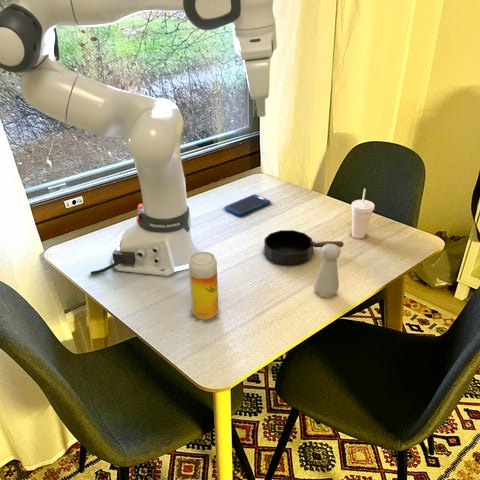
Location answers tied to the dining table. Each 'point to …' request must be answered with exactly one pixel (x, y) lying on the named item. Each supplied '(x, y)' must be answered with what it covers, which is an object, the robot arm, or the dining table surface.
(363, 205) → the smoothie
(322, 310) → the dining table surface
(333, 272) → the salt shaker
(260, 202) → the cell phone
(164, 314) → the dining table surface
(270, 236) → the pan
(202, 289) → the glass of yellow beer
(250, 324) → the dining table surface
